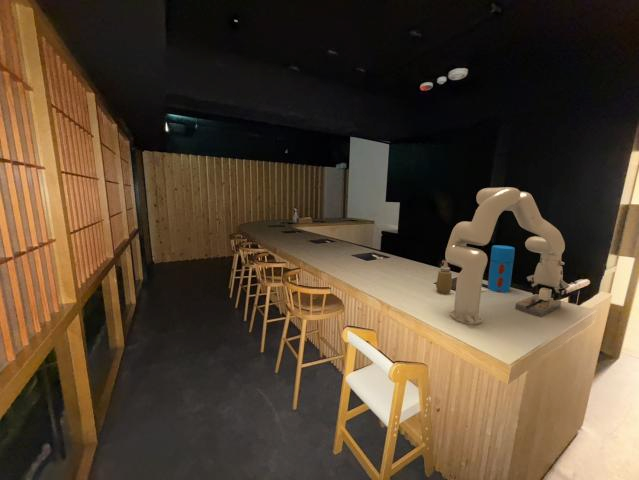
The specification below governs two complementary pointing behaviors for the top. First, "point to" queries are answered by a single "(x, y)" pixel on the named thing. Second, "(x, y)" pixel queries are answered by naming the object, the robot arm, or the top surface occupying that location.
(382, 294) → the top surface
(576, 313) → the top surface
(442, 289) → the squeeze bottle
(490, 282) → the thermos
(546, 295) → the fader
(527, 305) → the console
